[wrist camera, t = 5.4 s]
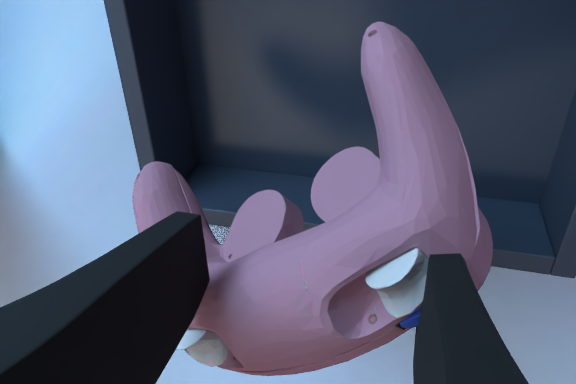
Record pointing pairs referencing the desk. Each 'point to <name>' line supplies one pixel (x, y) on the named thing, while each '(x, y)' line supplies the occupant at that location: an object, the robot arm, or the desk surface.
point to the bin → (356, 102)
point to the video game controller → (337, 234)
